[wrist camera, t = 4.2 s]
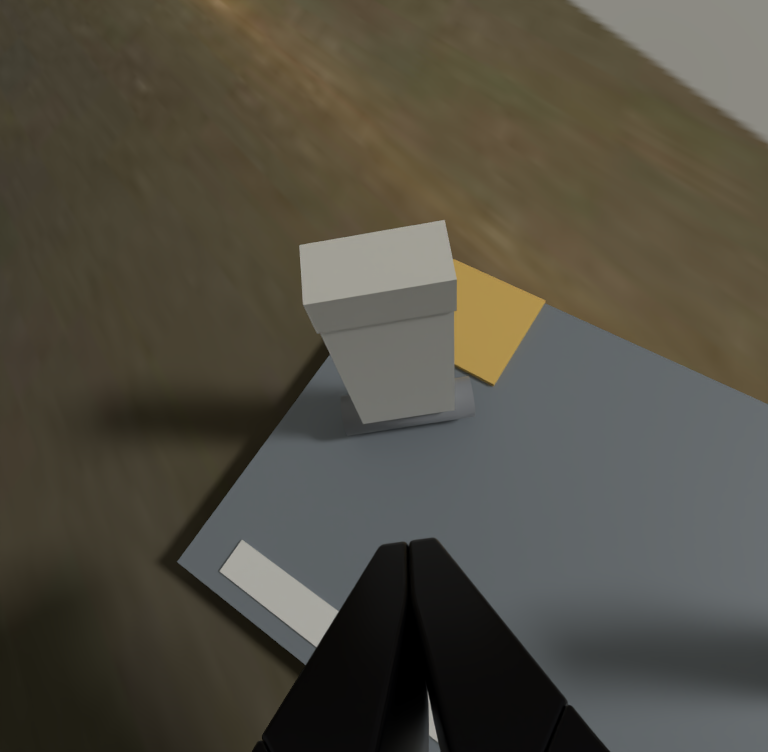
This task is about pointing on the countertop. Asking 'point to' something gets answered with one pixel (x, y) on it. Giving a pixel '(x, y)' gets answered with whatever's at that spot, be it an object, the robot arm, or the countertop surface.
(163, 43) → the countertop surface
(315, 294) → the lever
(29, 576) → the countertop surface
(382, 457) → the switch panel
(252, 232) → the countertop surface
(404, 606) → the robot arm
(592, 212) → the countertop surface
